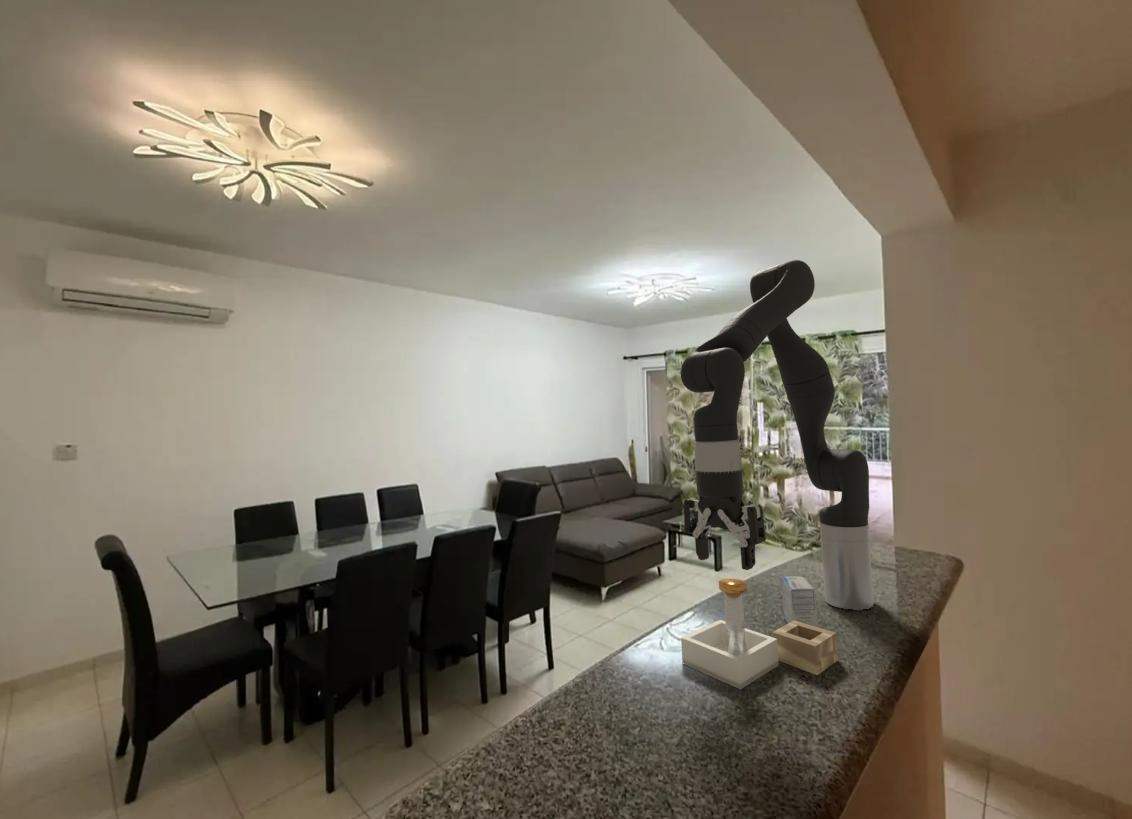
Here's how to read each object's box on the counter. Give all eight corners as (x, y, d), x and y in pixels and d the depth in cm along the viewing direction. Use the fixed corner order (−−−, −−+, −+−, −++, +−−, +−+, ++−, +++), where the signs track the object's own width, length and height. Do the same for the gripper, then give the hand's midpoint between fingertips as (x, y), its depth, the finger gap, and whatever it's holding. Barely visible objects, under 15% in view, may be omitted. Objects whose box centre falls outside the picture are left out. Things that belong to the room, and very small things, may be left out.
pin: (733, 653, 83) (728, 576, 83) (756, 662, 79) (752, 582, 80) (717, 661, 80) (713, 582, 81) (741, 671, 77) (736, 589, 77)
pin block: (795, 646, 86) (794, 620, 86) (838, 660, 81) (836, 632, 81) (774, 659, 82) (772, 632, 82) (817, 675, 76) (815, 646, 76)
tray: (721, 643, 89) (720, 619, 89) (778, 665, 80) (777, 638, 80) (682, 663, 82) (681, 637, 82) (740, 689, 73) (738, 660, 73)
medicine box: (819, 636, 90) (816, 589, 90) (793, 635, 91) (790, 588, 91) (806, 619, 97) (804, 576, 98) (783, 618, 98) (780, 575, 99)
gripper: (769, 466, 79) (776, 567, 78) (697, 464, 90) (703, 551, 89) (743, 471, 74) (750, 578, 73) (670, 468, 85) (676, 560, 85)
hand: (724, 563), depth 81 cm, fingers open, 8 cm apart
